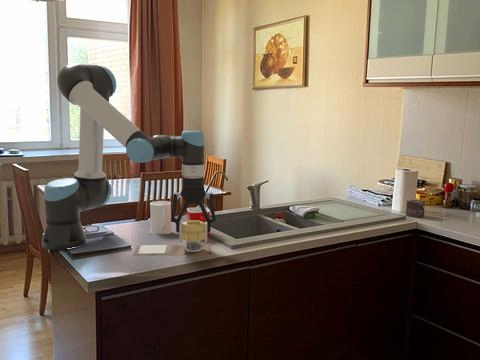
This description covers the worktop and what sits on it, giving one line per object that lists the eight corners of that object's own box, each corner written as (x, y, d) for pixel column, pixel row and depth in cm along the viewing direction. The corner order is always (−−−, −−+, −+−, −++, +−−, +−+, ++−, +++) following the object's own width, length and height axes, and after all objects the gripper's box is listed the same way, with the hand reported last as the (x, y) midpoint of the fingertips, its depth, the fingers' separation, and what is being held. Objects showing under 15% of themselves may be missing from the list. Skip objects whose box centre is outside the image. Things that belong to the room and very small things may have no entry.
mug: (174, 236, 184) (174, 206, 182) (152, 238, 182) (151, 207, 180) (170, 228, 195) (169, 200, 193) (149, 230, 193) (148, 201, 191)
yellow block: (181, 241, 160) (181, 224, 159) (182, 234, 168) (182, 218, 167) (205, 241, 161) (205, 223, 160) (204, 234, 169) (204, 217, 167)
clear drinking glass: (183, 253, 161) (182, 233, 160) (183, 246, 168) (183, 228, 167) (203, 252, 162) (203, 233, 161) (203, 246, 169) (203, 227, 168)
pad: (137, 254, 159) (137, 253, 159) (141, 246, 168) (141, 245, 168) (165, 254, 160) (165, 253, 160) (166, 246, 169) (166, 244, 169)
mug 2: (186, 234, 188) (186, 208, 186) (206, 232, 190) (206, 207, 188) (191, 243, 176) (191, 215, 174) (213, 241, 178) (213, 214, 177)
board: (133, 259, 158) (132, 255, 158) (137, 248, 169) (137, 245, 169) (211, 257, 160) (211, 254, 160) (210, 247, 171) (210, 244, 171)
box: (417, 218, 217) (418, 202, 216) (405, 215, 222) (406, 200, 221) (424, 216, 221) (425, 201, 220) (412, 213, 226) (413, 198, 224)
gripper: (161, 178, 156) (162, 245, 160) (224, 178, 158) (224, 244, 162) (162, 174, 163) (163, 238, 167) (223, 174, 165) (223, 237, 169)
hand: (193, 241), depth 164 cm, fingers closed on yellow block, 8 cm apart
